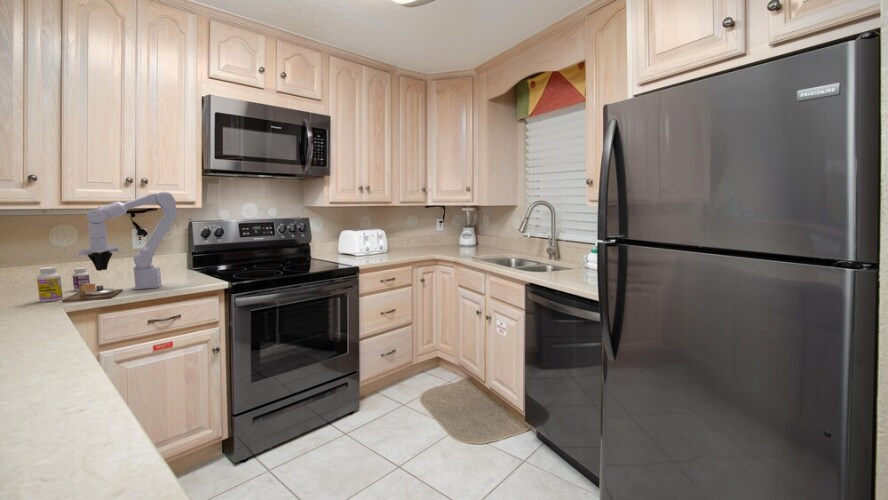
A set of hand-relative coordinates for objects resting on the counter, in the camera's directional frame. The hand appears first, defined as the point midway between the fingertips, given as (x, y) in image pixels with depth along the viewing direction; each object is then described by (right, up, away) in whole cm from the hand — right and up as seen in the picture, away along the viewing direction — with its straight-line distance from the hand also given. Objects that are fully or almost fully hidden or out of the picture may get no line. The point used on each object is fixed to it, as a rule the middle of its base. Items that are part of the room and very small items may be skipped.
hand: (101, 270), depth 173 cm
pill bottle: (-13, -9, +6) cm, 17 cm away
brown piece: (+3, -10, -7) cm, 13 cm away
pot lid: (+3, -9, -6) cm, 11 cm away
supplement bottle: (-9, -11, -13) cm, 19 cm away
